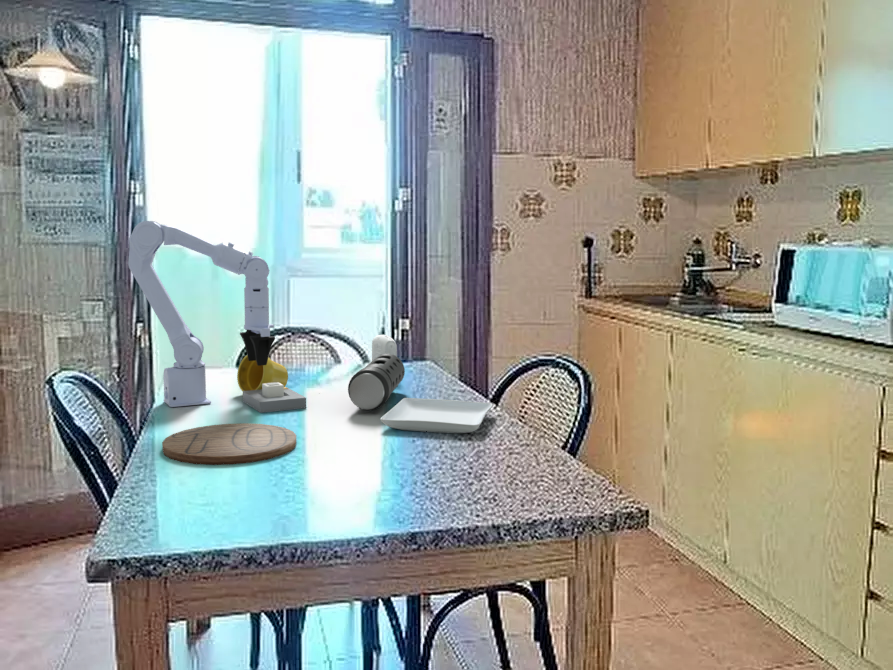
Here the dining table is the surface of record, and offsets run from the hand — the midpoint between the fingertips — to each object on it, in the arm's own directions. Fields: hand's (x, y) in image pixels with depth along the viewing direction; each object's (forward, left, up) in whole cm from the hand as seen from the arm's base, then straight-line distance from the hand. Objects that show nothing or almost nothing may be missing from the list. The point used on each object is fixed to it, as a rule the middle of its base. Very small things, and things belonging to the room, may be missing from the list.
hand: (257, 362), depth 200 cm
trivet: (-17, -39, -10) cm, 44 cm away
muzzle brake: (+25, -16, -10) cm, 31 cm away
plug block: (+2, -7, -9) cm, 12 cm away
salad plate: (+28, -41, -10) cm, 50 cm away
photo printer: (+40, +12, -9) cm, 43 cm away
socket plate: (+2, -7, -9) cm, 12 cm away
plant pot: (+9, +9, -6) cm, 14 cm away
